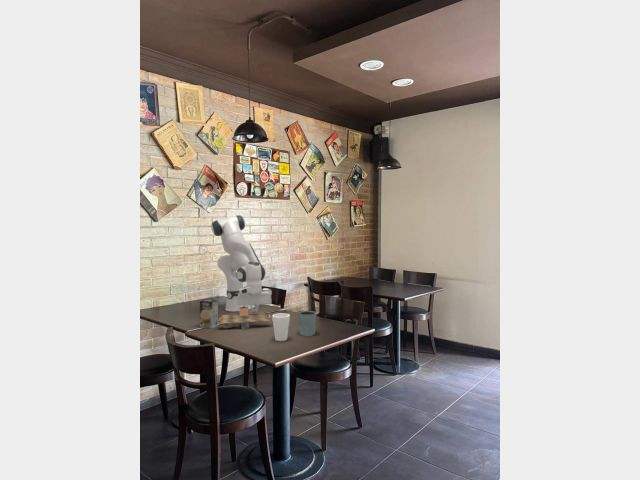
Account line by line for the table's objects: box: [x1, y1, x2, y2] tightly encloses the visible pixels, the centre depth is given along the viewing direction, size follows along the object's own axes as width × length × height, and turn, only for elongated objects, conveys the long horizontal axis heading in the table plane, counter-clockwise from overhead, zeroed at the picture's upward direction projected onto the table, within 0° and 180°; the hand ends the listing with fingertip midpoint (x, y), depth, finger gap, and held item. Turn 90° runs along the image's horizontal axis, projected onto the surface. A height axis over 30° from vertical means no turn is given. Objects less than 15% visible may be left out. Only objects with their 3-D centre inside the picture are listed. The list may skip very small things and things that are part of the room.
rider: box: [239, 306, 249, 316], centre depth 235 cm, size 5×6×6 cm
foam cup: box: [271, 312, 291, 342], centre depth 212 cm, size 10×9×13 cm
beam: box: [218, 312, 272, 330], centre depth 235 cm, size 30×8×8 cm, turn 102°
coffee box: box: [199, 298, 219, 329], centre depth 238 cm, size 9×6×16 cm
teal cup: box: [298, 310, 317, 337], centre depth 222 cm, size 10×10×12 cm
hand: (254, 312), depth 236 cm, fingers closed
